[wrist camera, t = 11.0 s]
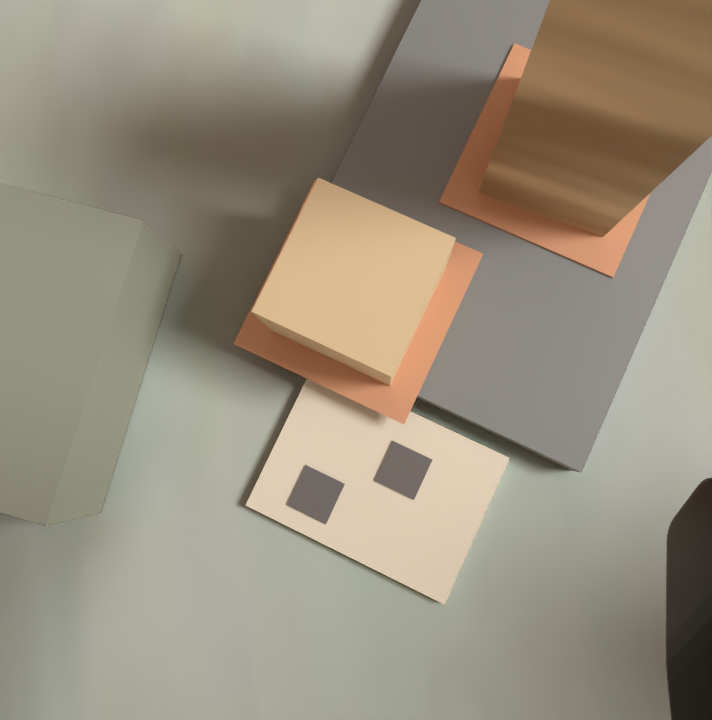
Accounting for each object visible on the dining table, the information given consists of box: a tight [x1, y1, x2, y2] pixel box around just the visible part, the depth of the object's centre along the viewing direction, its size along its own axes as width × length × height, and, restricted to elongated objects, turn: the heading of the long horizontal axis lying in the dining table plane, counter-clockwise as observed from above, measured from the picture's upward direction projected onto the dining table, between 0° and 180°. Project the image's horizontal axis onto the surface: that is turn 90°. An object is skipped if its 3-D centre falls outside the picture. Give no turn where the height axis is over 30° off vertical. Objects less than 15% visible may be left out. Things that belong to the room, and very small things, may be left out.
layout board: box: [233, 0, 712, 472], centre depth 20 cm, size 15×12×4 cm
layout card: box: [246, 379, 510, 605], centre depth 21 cm, size 5×7×1 cm
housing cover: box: [0, 183, 181, 526], centre depth 20 cm, size 9×7×4 cm
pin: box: [478, 0, 712, 237], centre depth 14 cm, size 4×4×13 cm
